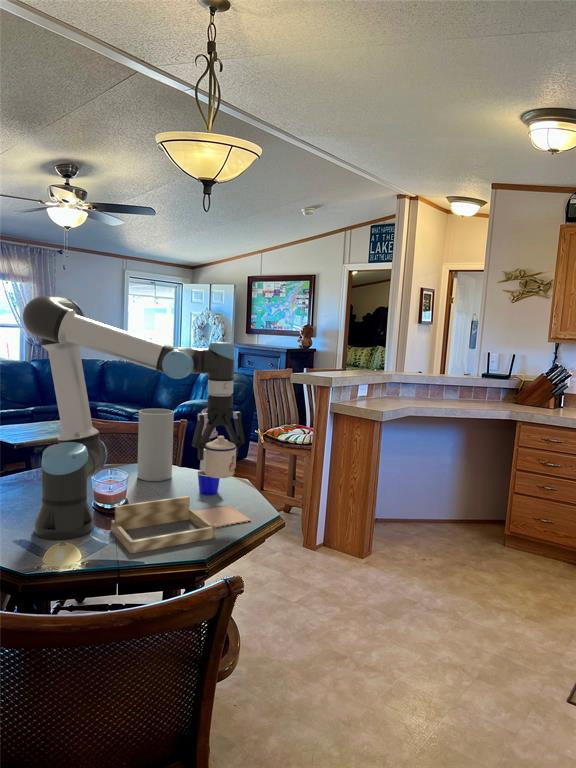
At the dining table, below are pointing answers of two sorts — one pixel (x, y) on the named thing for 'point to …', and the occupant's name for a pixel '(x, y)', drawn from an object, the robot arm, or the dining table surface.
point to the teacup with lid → (220, 458)
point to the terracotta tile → (223, 516)
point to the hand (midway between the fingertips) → (217, 468)
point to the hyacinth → (205, 482)
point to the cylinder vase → (155, 444)
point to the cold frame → (155, 515)
